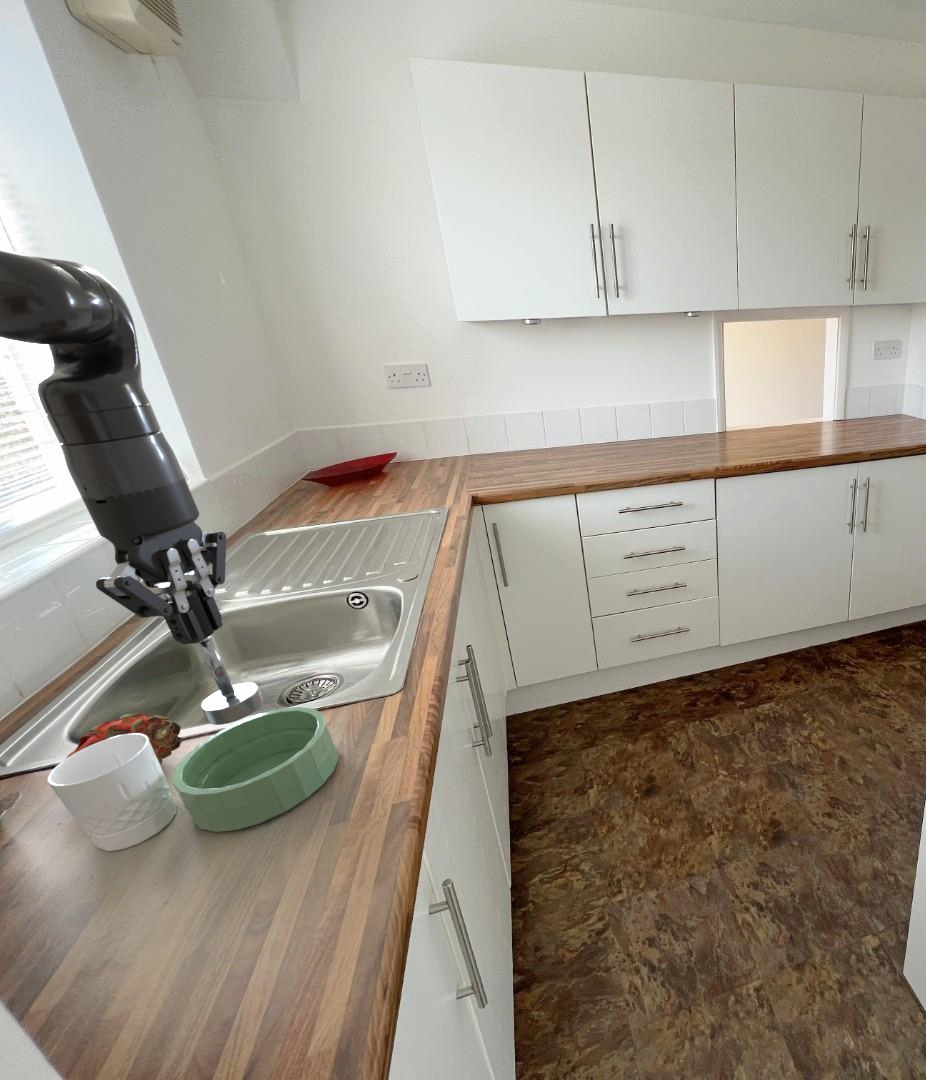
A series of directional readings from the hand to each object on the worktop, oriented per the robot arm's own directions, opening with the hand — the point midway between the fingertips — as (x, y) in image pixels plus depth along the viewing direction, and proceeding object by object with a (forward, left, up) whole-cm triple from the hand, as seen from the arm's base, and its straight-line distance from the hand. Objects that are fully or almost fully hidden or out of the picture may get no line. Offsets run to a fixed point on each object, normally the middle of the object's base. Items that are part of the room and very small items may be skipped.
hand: (201, 635), depth 63 cm
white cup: (-11, -5, -22) cm, 25 cm away
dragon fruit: (-20, +4, -22) cm, 30 cm away
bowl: (0, 0, -21) cm, 21 cm away
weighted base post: (0, 0, -10) cm, 10 cm away
